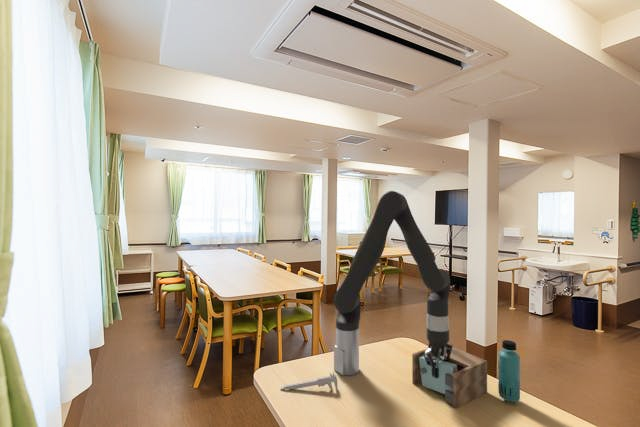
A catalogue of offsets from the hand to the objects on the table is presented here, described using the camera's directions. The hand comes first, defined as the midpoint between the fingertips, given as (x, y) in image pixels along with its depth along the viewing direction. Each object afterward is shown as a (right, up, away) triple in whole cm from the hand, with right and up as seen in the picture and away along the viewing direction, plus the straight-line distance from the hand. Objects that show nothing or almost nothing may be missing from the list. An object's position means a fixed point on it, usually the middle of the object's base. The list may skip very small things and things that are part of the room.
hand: (438, 375), depth 112 cm
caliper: (-46, -6, +2) cm, 46 cm away
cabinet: (+5, -6, +3) cm, 8 cm away
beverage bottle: (+22, -6, -5) cm, 23 cm away
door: (+1, -5, -1) cm, 5 cm away
